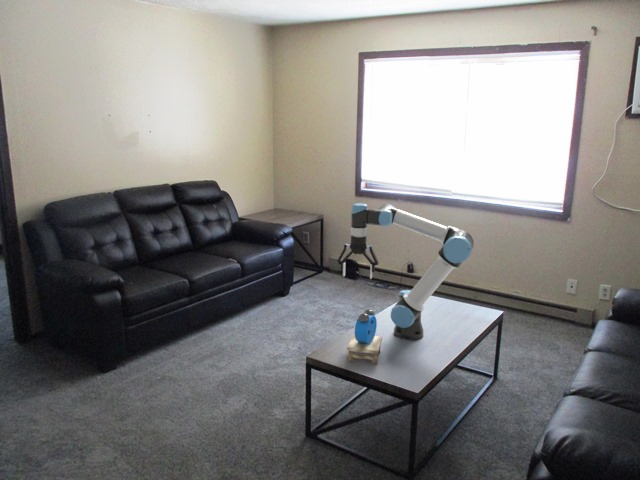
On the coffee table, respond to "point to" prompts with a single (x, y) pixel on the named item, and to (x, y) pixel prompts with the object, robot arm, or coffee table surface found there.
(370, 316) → the alarm clock
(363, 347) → the stool
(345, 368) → the coffee table surface
